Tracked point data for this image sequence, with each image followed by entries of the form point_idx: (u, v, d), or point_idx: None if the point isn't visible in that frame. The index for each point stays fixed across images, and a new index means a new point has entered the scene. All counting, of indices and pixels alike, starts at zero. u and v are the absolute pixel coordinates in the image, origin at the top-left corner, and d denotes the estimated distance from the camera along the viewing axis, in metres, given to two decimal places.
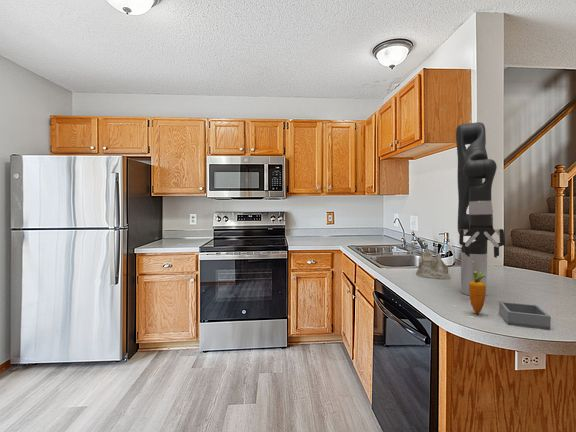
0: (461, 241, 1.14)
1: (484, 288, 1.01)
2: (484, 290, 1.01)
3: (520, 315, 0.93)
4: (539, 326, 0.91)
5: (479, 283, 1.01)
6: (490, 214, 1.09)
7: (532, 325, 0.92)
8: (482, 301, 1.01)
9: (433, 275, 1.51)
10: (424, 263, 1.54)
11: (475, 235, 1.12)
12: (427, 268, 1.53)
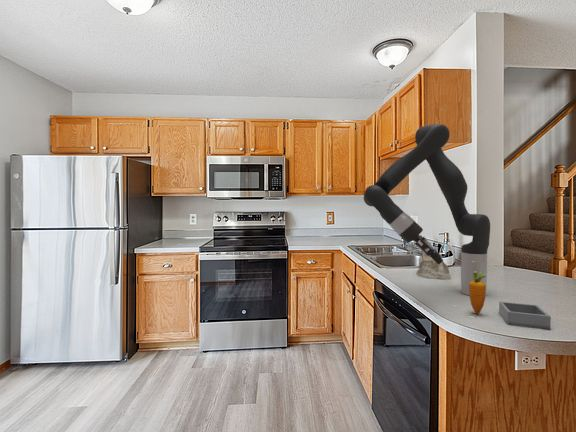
0: None
1: (484, 288, 1.01)
2: (484, 290, 1.01)
3: (520, 315, 0.93)
4: (539, 326, 0.91)
5: (479, 283, 1.01)
6: (401, 233, 1.09)
7: (532, 325, 0.92)
8: (482, 301, 1.01)
9: (434, 275, 1.51)
10: (425, 263, 1.54)
11: None
12: (428, 268, 1.53)
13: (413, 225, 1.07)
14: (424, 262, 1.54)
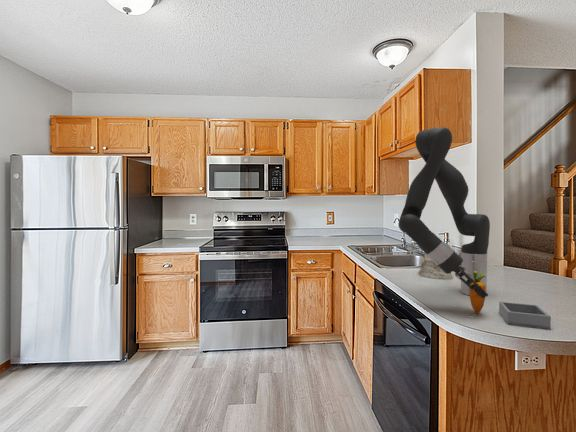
0: None
1: (484, 288, 1.01)
2: (484, 290, 1.01)
3: (520, 315, 0.93)
4: (539, 326, 0.91)
5: (479, 283, 1.01)
6: (440, 264, 1.05)
7: (532, 325, 0.92)
8: (482, 301, 1.01)
9: (436, 275, 1.51)
10: (427, 263, 1.54)
11: None
12: (430, 268, 1.53)
13: (453, 256, 1.03)
14: (426, 262, 1.54)
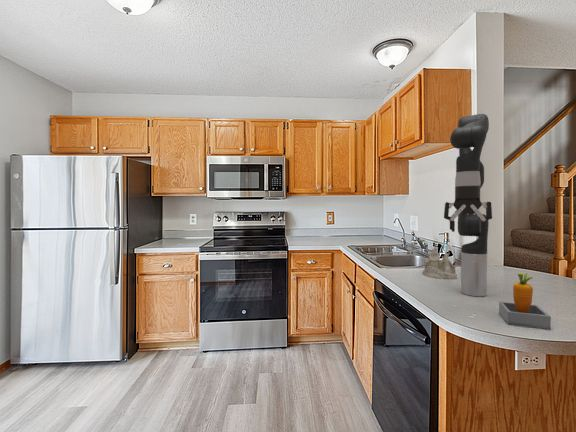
0: (446, 215, 1.06)
1: (531, 291, 0.95)
2: (531, 293, 0.95)
3: (520, 315, 0.93)
4: (539, 326, 0.91)
5: (525, 285, 0.95)
6: (478, 185, 1.01)
7: (532, 325, 0.92)
8: (529, 305, 0.95)
9: (440, 275, 1.51)
10: (431, 263, 1.54)
11: (461, 208, 1.04)
12: (434, 268, 1.53)
13: None
14: (431, 262, 1.54)
